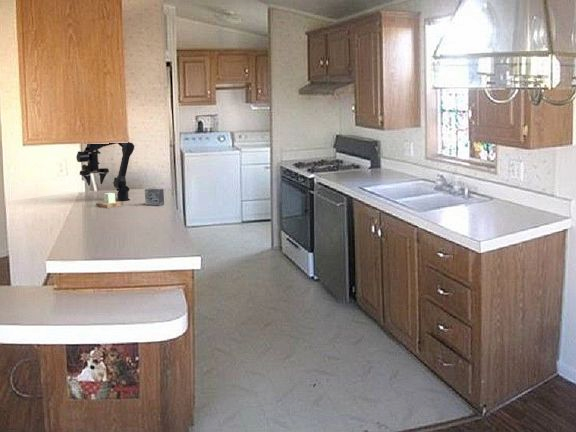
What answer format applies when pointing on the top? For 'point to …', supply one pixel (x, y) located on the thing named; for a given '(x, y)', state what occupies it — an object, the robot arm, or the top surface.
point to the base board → (109, 204)
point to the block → (109, 198)
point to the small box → (154, 197)
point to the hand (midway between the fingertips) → (95, 184)
